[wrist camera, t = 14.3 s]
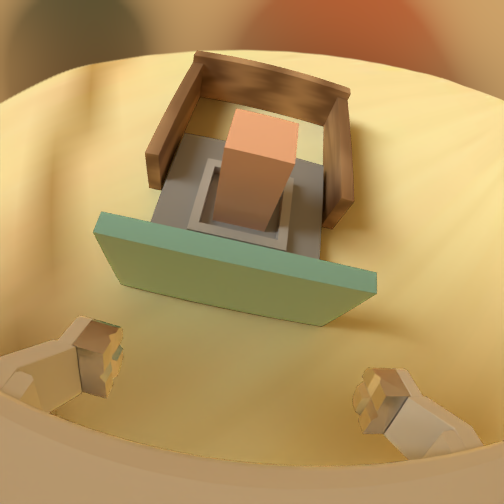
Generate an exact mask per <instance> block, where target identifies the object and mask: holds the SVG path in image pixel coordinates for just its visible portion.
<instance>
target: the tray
mask: <svg viewBox="0 0 504 504" xmlns="http://www.w3.org/2000/svg"><path fill="white" fill-rule="evenodd" d="M225 143H226V141H223V140H218V139H213V138H209V137H204V136H198V135H193V134H188V133H185V134H184V136H183V138H182V141H181V143H180V146H179V148H178V150H177V153H176V155H175V158H174V160H173V163H172V165H171V168H170V171H169V173H168V176H167V178H166V181H165V184H164V186H163V189H162V192H161V194H160V197H159V200H158V203H157V205H156V208H155V211H154V214H153V217H152V220H151V222H148V221H143V220H139V219H134V218H129V217H125V216H120V215H115V214H111V213H106V212H101V214H100V216H99V218H98V221H97V223H96V226H95V228H94V231H93V233H94V235H95V237H96V239H97V241H98V243H99V245H100V247H101V249H102V251H103V253H104V254H105V256H106V258H107V260H108V262H109V264H110V266H111V267H112V269H113V271H114V273H115V275H116V277H117V278H118V280H119V282H120V284H122V285H126V286H130V287H134V288H138V289H142V290H146V291H150V292H154V293H158V294H163V295H167V296H171V297H175V298H180V299H184V300H189V301H193V302H198V303H202V304H207V305H211V306H216V307H221V308H226V309H231V310H235V311H240V312H245V313H250V314H256V315H261V316H266V317H271V318H277V319H282V320H288V321H293V322H299V323H305V324H311V325H316V326H323V325H325V324H327V323H329V322H330V321H332V320H334V319H336V318H337V317H339V316H341V315H342V314H344V313H346V312H348V311H349V310H351V309H353V308H354V307H356V306H358V305H359V304H361V303H362V302H364V301H366V300H367V299H369V298H371V297H372V296H374V295H375V294H377V273H376V272H372V271H368V270H363V269H359V268H355V267H350V266H346V265H341V264H337V263H333V262H328V261H324V260H320V244H321V226H322V203H323V172H324V166H323V165H319V164H316V163H312V162H309V161H305V160H301V159H298V158H296V160H295V166H294V168H293V170H292V172H291V174H290V177H289V179H288V181H287V183H286V185H285V188H284V190H283V192H282V194H281V196H280V198H279V201H278V203H277V205H276V207H275V209H274V212H273V214H272V216H271V218H270V220H269V223H268V225H267V227H266V229H265V231H264V232H263V231H259V230H255V229H250V228H246V227H241V226H237V225H232V224H228V223H223V222H219V221H214V220H212V219H213V213H214V206H215V200H216V194H217V188H218V182H219V176H220V170H221V164H222V158H223V152H224V147H225Z"/></svg>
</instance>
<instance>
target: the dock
mask: <svg viewBox="0 0 504 504" xmlns="http://www.w3.org/2000/svg"><path fill="white" fill-rule="evenodd" d="M350 94H351V93H350V88H347V87H344V86H341V85H338V84H335V83H332V82H329V81H326V80H323V79H320V78H317V77H313V76H310V75H307V74H303V73H300V72H296V71H292V70H289V69H285V68H281V67H277V66H273V65H269V64H265V63H261V62H256V61H252V60H247V59H242V58H237V57H232V56H227V55H221V54H216V53H210V52H203V51H196V53H195V54H194V60H193V64H192V65H191V67H190V69H189V70H188V72H187V74H186V75H185V77H184V79H183V81H182V82H181V84H180V86H179V88H178V90H177V91H176V93H175V95H174V97H173V99H172V100H171V102H170V104H169V106H168V108H167V110H166V112H165V114H164V116H163V117H162V119H161V121H160V123H159V125H158V127H157V129H156V131H155V133H154V135H153V137H152V139H151V141H150V143H149V146H148V148H147V150H146V152H145V157H146V166H147V174H148V182H149V188H153V189H158V190H161V189H162V186H163V184H164V181H165V179H166V176H167V173H168V171H169V168H170V166H171V163H172V161H173V158H174V156H175V153H176V151H177V148H178V146H179V143H180V141H181V139H182V136H183V134H184V132H185V129H186V127H187V125H188V122H189V120H190V118H191V115H192V113H193V111H194V109H195V107H196V104H197V102H198V100H199V98H200V97H206V98H211V99H216V100H221V101H226V102H231V103H236V104H240V105H245V106H249V107H254V108H258V109H262V110H266V111H270V112H274V113H278V114H282V115H286V116H290V117H293V118H297V119H301V120H304V121H308V122H311V123H314V124H318V125H321V126H324V137H323V166H324V172H323V203H322V227H325V228H329V229H333V228H334V226H335V225H336V224H337V223H338V221H339V220H340V219H341V218H342V216H343V215H344V214H345V213H346V211H347V210H348V209H349V207H350V206H351V205H352V204H353V202H354V184H353V163H352V147H351V134H350V122H349V111H348V101H347V100H348V98H349V96H350Z"/></svg>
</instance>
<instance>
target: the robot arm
mask: <svg viewBox="0 0 504 504" xmlns="http://www.w3.org/2000/svg"><path fill="white" fill-rule="evenodd" d="M122 339H123V329H122V327H120V326H116V325H113V324H109V323H106V322H102V321H99V320H95V319H92V318H88V317H85V316H81V315H80V316H77V318H76V319H75V320H74V321H73V322H72V323H71V325H70V326H69V327H68V328H67V329H66V331H65V332H64V333H63V334H62V335H61V337H60V338H59V339H58V340H54V339H53V340H50V341H47V342H44V343H41V344H38V345H35V346H32V347H28V348H25V349H22V350H19V351H16V352H13V353H10V354H7V355H4V356H0V504H504V441H500V442H497V443H493V444H489V445H485V446H484V445H483V444H482V442H481V440H480V439H479V437H478V436H477V434H476V432H475V431H474V429H473V427H472V426H470V425H469V424H467V423H466V422H464V421H463V420H461V419H460V418H458V417H457V416H455V415H454V414H452V413H451V412H449V411H448V410H446V409H445V408H443V407H442V406H440V405H439V404H437V403H435V402H434V401H432V400H431V399H429V398H428V397H423V395H422V394H421V392H420V390H419V388H418V387H417V385H416V384H415V382H414V380H413V379H412V377H411V375H410V374H409V372H408V370H406V369H404V368H393V369H387V368H370V367H368V368H367V369H366V370H365V372H364V374H363V376H362V378H363V382H362V383H361V384H359V385H358V386H357V387H356V390H355V392H354V395H353V407H354V410H355V412H356V413H358V414H359V415H360V417H359V419H358V422H359V425H360V427H361V430H362V433H363V434H384V436H385V437H386V438H387V439H388V440H389V441H390V442H391V443H392V444H393V445H394V446H395V447H396V448H397V449H398V450H399V451H400V452H401V453H402V454H403V455H404V456H405V457H406V458H407V459H408V460H407V461H399V462H390V463H379V464H365V465H344V466H299V465H277V464H263V463H251V462H241V461H233V460H225V459H218V458H211V457H204V456H198V455H193V454H187V453H182V452H177V451H172V450H167V449H163V448H158V447H154V446H150V445H145V444H141V443H138V442H134V441H130V440H126V439H123V438H119V437H116V436H112V435H109V434H106V433H103V432H100V431H96V430H93V429H90V428H87V427H84V426H82V425H79V424H76V423H73V422H70V421H68V420H65V419H63V418H60V417H57V416H55V415H52V414H50V412H51V411H53V410H55V409H56V408H58V407H60V406H61V405H63V404H65V403H66V402H68V401H70V400H71V399H73V398H75V397H76V396H78V395H79V394H81V393H82V392H86V393H89V394H92V395H96V396H99V397H103V398H107V397H108V395H109V393H110V390H111V388H112V386H113V378H114V377H116V376H118V374H119V372H120V369H121V365H122V361H123V348H122V347H121V345H120V343H121V341H122Z"/></svg>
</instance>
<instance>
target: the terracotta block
mask: <svg viewBox="0 0 504 504" xmlns="http://www.w3.org/2000/svg"><path fill="white" fill-rule="evenodd" d="M298 127H299V124H298V123H294V122H291V121H287V120H283V119H279V118H275V117H271V116H267V115H263V114H259V113H255V112H251V111H246V110H242V109H237V108H236V111H235V114H234V117H233V120H232V124H231V127H230V130H229V133H228V137H227V140H226V143H225V147H224V152H223V158H222V164H221V170H220V176H219V182H218V188H217V194H216V200H215V206H214V213H213V219H212V220H214V221H219V222H223V223H228V224H232V225H237V226H241V227H246V228H250V229H255V230H259V231H263V232H264V231H265V229H266V227H267V225H268V223H269V220H270V218H271V216H272V214H273V212H274V209H275V207H276V205H277V203H278V201H279V198H280V196H281V194H282V192H283V190H284V188H285V185H286V183H287V181H288V179H289V177H290V174H291V172H292V170H293V168H294V166H295V160H296V149H297V138H298Z"/></svg>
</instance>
